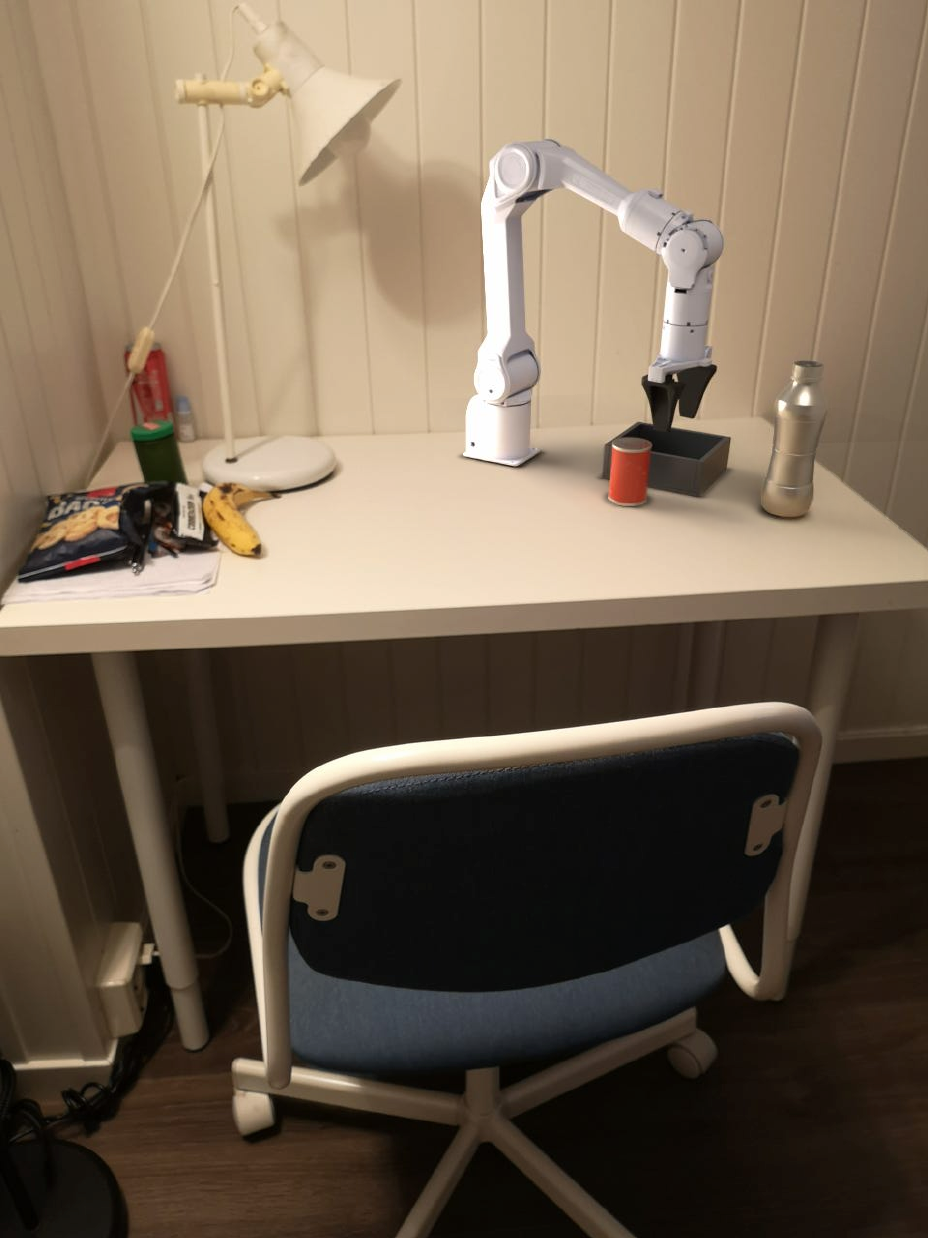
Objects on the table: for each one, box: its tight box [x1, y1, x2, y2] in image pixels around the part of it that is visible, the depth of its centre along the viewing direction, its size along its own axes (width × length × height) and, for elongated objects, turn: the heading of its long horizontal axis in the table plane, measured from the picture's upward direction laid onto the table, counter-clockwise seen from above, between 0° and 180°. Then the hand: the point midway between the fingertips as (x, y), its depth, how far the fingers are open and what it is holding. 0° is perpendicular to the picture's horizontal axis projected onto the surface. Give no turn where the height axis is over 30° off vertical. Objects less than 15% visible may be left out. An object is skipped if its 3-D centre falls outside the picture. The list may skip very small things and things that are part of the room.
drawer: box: [601, 421, 732, 498], centre depth 143 cm, size 15×13×5 cm
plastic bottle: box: [760, 359, 829, 518], centre depth 126 cm, size 6×7×20 cm
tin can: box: [607, 437, 652, 507], centre depth 134 cm, size 5×5×8 cm
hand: (674, 423), depth 133 cm, fingers open, 7 cm apart
